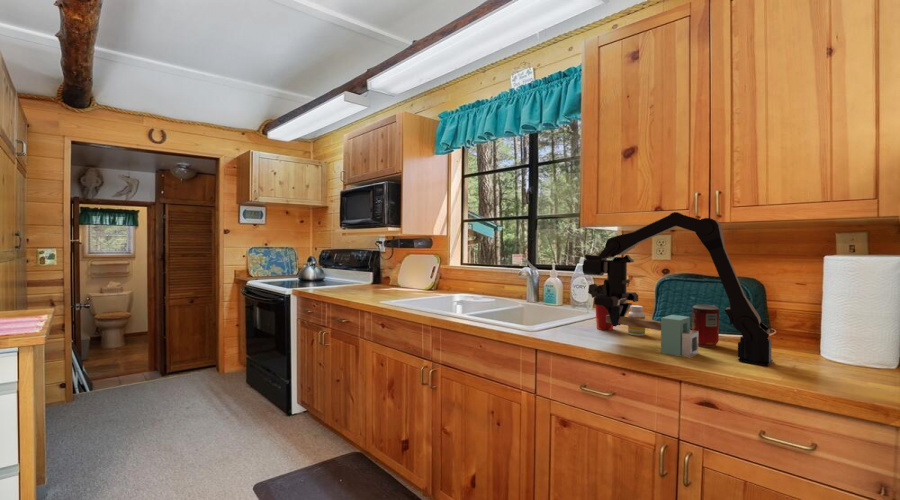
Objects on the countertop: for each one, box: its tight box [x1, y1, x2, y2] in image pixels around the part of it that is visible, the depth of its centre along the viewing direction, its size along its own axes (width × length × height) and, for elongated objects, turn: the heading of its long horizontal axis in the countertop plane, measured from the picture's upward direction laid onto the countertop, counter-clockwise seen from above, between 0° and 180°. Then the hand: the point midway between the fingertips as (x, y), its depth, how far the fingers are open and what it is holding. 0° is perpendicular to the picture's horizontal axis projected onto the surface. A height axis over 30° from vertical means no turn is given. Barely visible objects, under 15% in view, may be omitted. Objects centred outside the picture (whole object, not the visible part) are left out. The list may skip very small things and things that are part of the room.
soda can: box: [691, 303, 720, 348], centre depth 130 cm, size 7×7×12 cm
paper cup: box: [595, 305, 614, 331], centre depth 155 cm, size 8×8×14 cm
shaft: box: [606, 315, 661, 331], centre depth 129 cm, size 19×2×2 cm, turn 43°
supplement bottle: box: [627, 304, 646, 337], centre depth 145 cm, size 5×5×10 cm
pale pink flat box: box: [681, 329, 699, 358], centre depth 119 cm, size 2×6×6 cm, turn 133°
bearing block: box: [660, 314, 691, 357], centre depth 121 cm, size 5×8×10 cm, turn 133°
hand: (616, 325), depth 134 cm, fingers closed on shaft, 2 cm apart
